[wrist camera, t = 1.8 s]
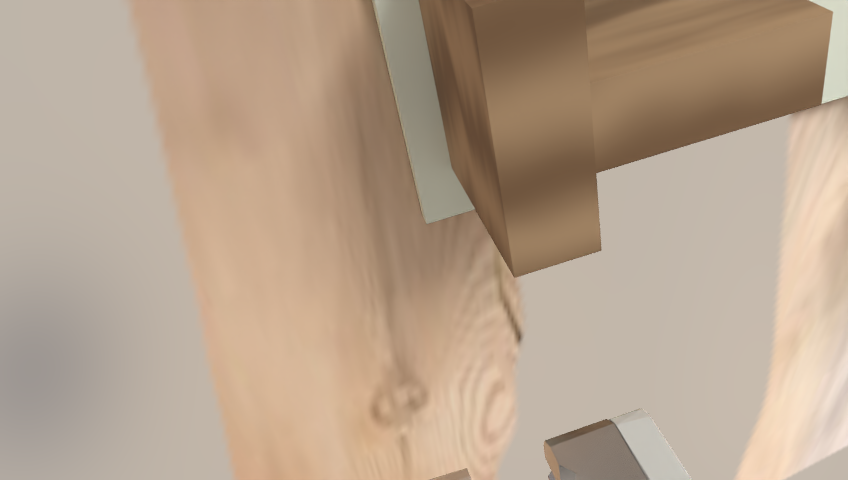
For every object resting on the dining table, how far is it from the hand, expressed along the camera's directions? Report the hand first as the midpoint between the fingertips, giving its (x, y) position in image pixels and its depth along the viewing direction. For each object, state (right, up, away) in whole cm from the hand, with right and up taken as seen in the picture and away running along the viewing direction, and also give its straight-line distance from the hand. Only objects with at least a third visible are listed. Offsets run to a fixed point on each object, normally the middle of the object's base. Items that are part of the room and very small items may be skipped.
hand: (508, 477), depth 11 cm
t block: (+6, +14, +27) cm, 31 cm away
